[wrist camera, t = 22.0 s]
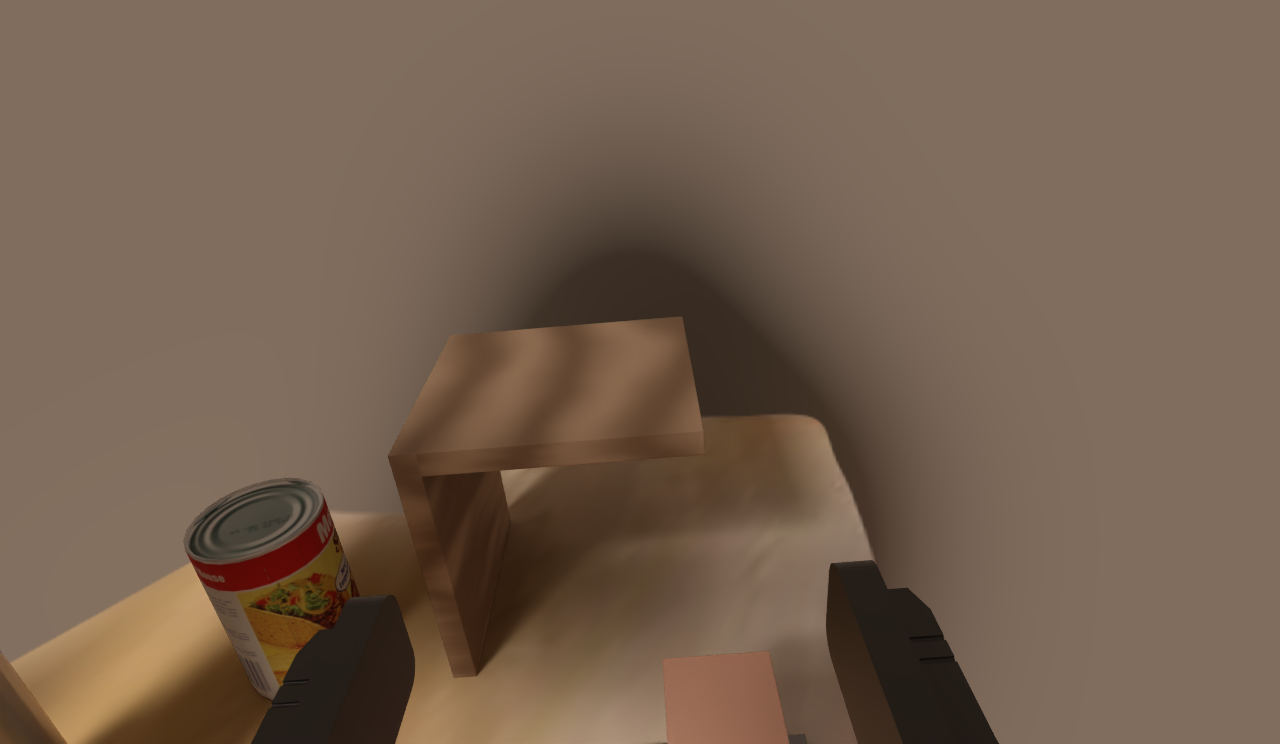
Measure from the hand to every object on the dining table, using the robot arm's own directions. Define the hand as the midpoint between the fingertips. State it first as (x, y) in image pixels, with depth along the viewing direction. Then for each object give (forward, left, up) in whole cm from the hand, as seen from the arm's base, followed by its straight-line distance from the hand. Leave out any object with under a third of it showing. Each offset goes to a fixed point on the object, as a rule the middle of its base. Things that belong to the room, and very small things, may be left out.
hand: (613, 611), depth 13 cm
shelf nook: (-5, +30, -28) cm, 41 cm away
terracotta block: (+3, +11, -27) cm, 30 cm away
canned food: (-24, +25, -28) cm, 45 cm away
